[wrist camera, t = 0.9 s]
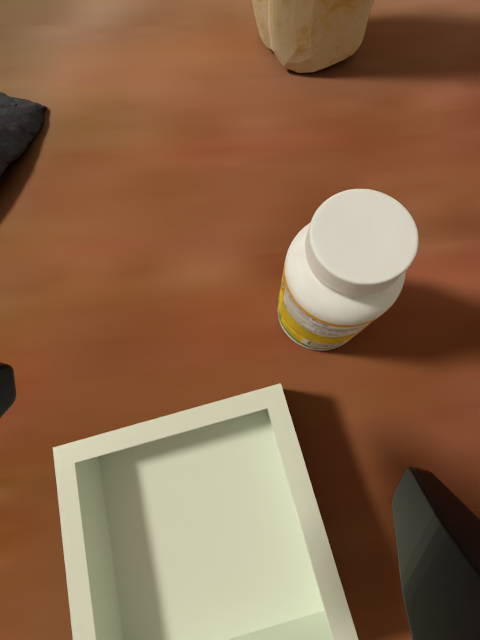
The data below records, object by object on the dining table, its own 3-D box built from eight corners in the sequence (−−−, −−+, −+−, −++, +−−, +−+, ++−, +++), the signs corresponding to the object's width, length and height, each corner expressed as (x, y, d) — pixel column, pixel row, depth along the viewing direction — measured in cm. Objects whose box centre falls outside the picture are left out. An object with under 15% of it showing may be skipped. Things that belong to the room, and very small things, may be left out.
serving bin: (345, 616, 17) (366, 667, 14) (120, 682, 17) (84, 751, 13) (277, 387, 20) (280, 383, 17) (87, 441, 20) (52, 447, 17)
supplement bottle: (315, 369, 20) (360, 334, 11) (259, 305, 22) (260, 228, 12) (378, 315, 21) (471, 241, 12) (321, 257, 22) (364, 149, 13)
